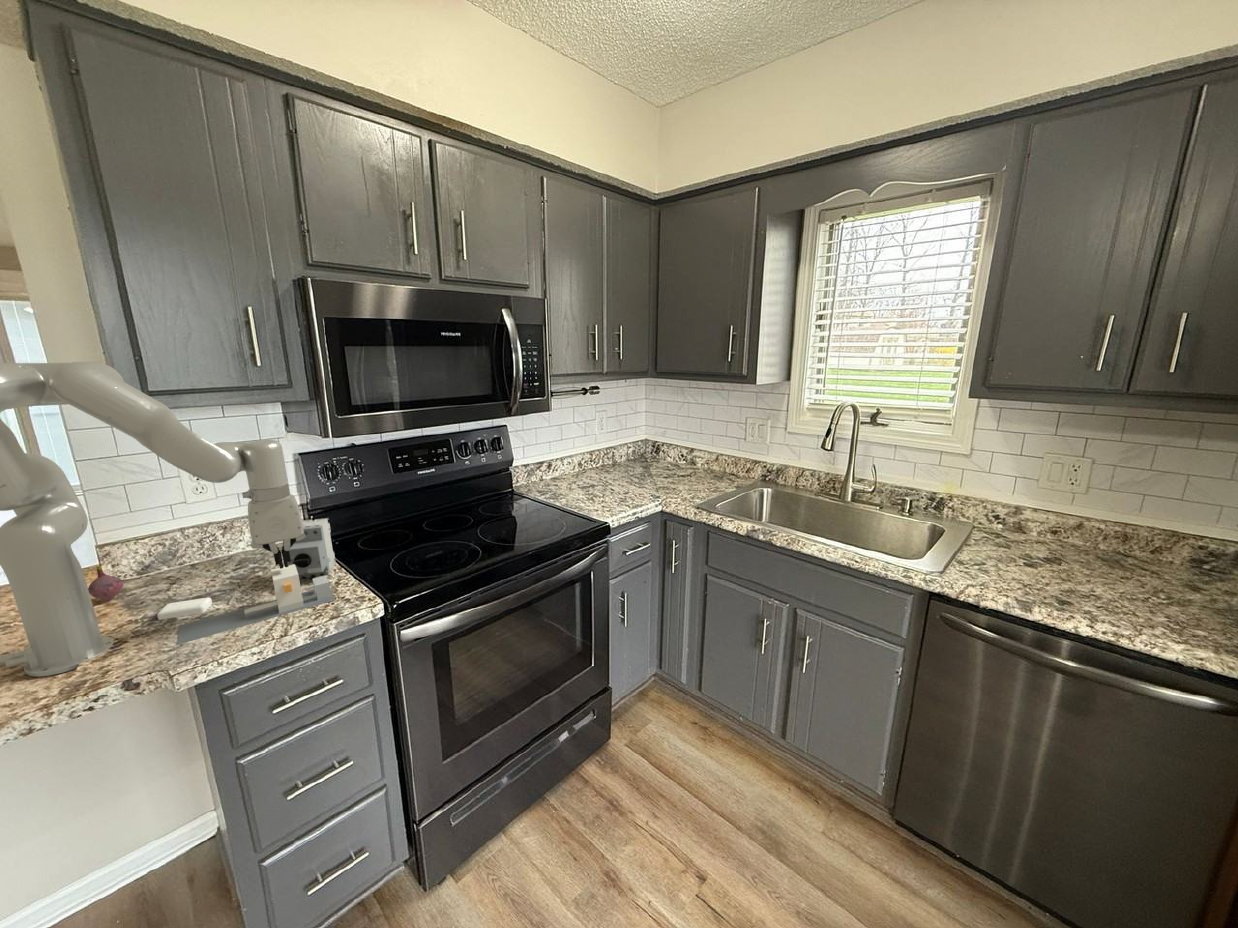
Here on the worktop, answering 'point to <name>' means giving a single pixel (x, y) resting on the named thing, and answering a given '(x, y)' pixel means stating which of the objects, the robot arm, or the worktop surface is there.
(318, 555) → the circuit breaker
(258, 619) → the board
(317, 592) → the end stop
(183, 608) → the soap
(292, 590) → the block
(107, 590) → the vegetable
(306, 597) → the rail
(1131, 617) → the worktop surface
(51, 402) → the robot arm
